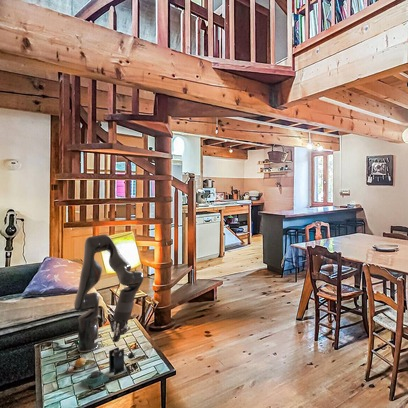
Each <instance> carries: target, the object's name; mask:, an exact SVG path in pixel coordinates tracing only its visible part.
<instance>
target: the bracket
mask: <svg viewBox="0 0 408 408" xmlns="http://www.w3.org/2000/svg"><path fill="white" fill-rule="evenodd" d="M114 350H117V352H114V356H113V355H112V353H113V351H114ZM124 353H125V349H124V348H121V349H120V346H119V347H115V348H113V349H110V350H109V351H108V371H109V372H108V373H109V374H112V373H113V375H114V376H117V375H118V374H121V373H122V372H124V371H125V356H124Z"/></svg>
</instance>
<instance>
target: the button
mask: <svg viewBox="0 0 408 408" xmlns="http://www.w3.org/2000/svg"><path fill="white" fill-rule="evenodd" d="M100 372H101V371H99V370H95V371H93V372H91V373H90V375H91V378H97V377H99V376H100Z"/></svg>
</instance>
